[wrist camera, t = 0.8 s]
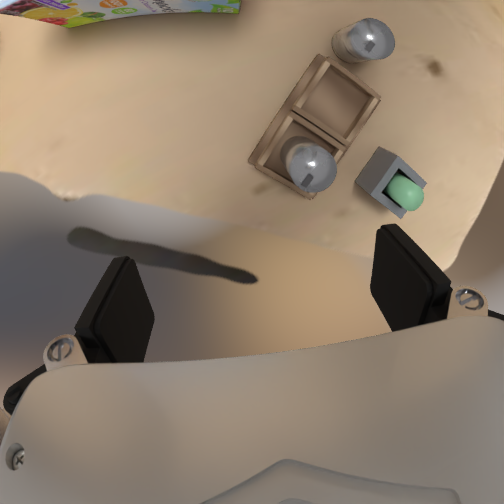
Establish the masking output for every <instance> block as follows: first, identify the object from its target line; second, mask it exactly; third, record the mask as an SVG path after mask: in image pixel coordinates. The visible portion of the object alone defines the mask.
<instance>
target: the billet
mask: <svg viewBox="0 0 504 504" xmlns="http://www.w3.org/2000/svg"><path fill="white" fill-rule="evenodd" d="M394 47H395V40H394V36H393V33H392V32H391V30H390V29H389V27H388V26H387V25H386V24H384V23H383V22H381V21H379V20H377V19H373V18H366V19H363V20H361V21H358V22H356V23H354V24H352V25H350V26H348V27H346V28H344V29H342V30H340V31H338V32H337V33H336V34H335V35H334V36H333V38H332V48H333V51H334V53H335V54H336V55H337V56H338V57H339V58H340V59H341V60H343V61H345V62H348V63H357V62H363V61H370V60H377V59H384V58H386V57H388V56H390V55H391V53H392V52H393V50H394Z"/></svg>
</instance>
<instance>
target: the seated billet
mask: <svg viewBox="0 0 504 504" xmlns="http://www.w3.org/2000/svg"><path fill="white" fill-rule="evenodd" d="M280 158H281V161H282V163H283V165H284V167H285V168H286V170H287V172H288V173H289V175H290V176H291V178H292V180H293V181H294V183H295V184H296V186H297V187H298V188H300V189H301V190H303V191H306V192H310V193H316V192H320V191H323V190H325V189H326V188H328V187H329V186H330V185H331V184H332V183H333V181H334V179H335V177H336V173H337V165H336V162H335V159H334V158H333V156H332V155H331V154H330V153H329V152H328V151H326V150H325V149H324V148H322V147H321V146H319V145H318V144H317V143H315V142H314V141H312V140H311V139H309V138H307V137H305V136H294V137H291V138H289V139H288V140H287V141H286V142H285V143H284V144H283V146H282V148H281V151H280Z"/></svg>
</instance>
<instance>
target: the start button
mask: <svg viewBox="0 0 504 504" xmlns="http://www.w3.org/2000/svg"><path fill="white" fill-rule="evenodd" d="M383 191H384V192H385V193H386V194H388V195H389V196H390V197H391V198H392V199H394V200H395V201H396V202H397V203H398V204H400V205H401V206H402V207H403V208H404V209H406V210H408V211H414V210H416V209H417V208H419V207H420V205H421V204H422V202H423V199H424V193H423V190H422V188H421V187H419V186H418V185H416V184H415V183H413V182H412V181H410V180H409V179H407V178H406V177H404V176H403V175H401V174H399V173H398V172H396V173H395V174H394V175H393V177H392V178H391V180H390V181H389V182H388V184H387V185H386V187H385V188H384V189H383Z"/></svg>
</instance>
